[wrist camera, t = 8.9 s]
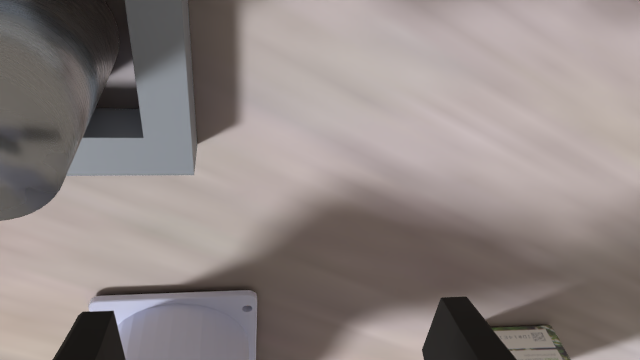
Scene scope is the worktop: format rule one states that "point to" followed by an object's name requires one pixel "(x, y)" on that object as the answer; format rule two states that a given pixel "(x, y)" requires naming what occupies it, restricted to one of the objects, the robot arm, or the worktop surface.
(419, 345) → the worktop surface
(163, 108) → the jig
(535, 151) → the worktop surface
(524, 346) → the syrup box
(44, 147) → the cylinder
